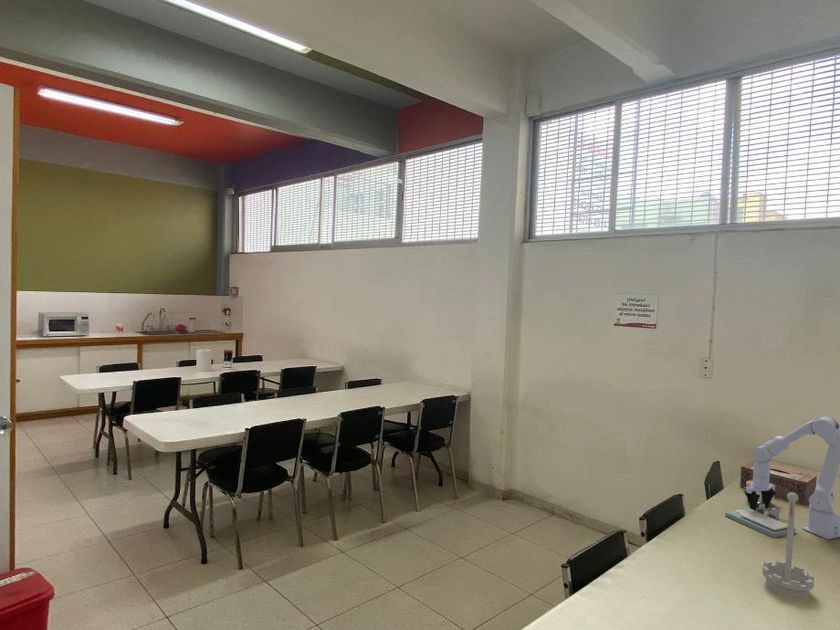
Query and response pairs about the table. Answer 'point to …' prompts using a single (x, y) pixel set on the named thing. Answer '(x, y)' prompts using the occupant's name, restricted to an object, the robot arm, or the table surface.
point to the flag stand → (788, 566)
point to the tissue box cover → (784, 481)
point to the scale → (759, 522)
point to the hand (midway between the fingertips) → (759, 508)
